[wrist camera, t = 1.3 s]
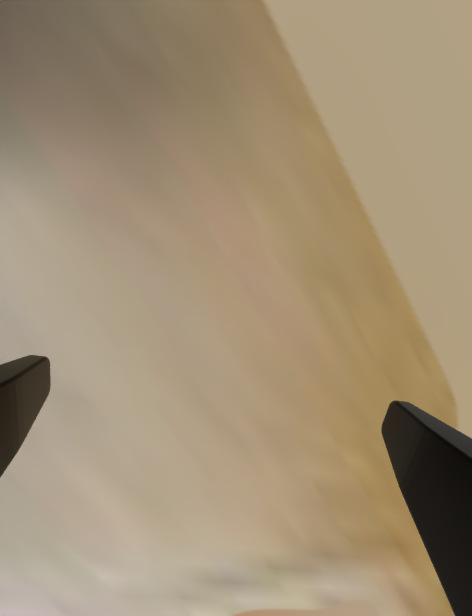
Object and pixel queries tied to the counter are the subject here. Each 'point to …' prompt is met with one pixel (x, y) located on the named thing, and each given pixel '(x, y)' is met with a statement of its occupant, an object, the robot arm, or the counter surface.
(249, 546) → the counter surface
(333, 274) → the counter surface
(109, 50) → the counter surface
